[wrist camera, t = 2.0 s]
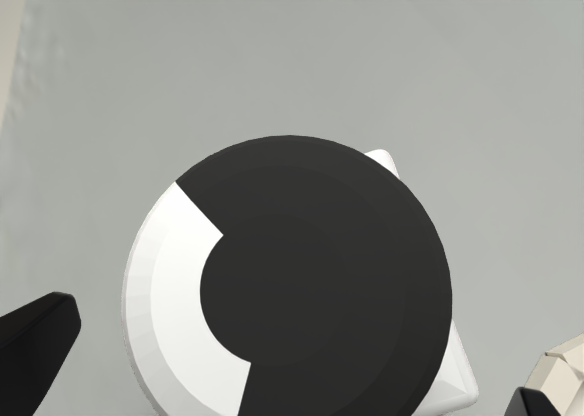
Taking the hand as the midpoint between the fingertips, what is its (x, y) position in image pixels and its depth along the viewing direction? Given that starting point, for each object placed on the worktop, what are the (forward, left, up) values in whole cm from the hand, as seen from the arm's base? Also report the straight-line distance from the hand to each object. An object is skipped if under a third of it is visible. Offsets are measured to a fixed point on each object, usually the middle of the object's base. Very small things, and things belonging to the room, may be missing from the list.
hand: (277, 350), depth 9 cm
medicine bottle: (+1, -1, -10) cm, 10 cm away
